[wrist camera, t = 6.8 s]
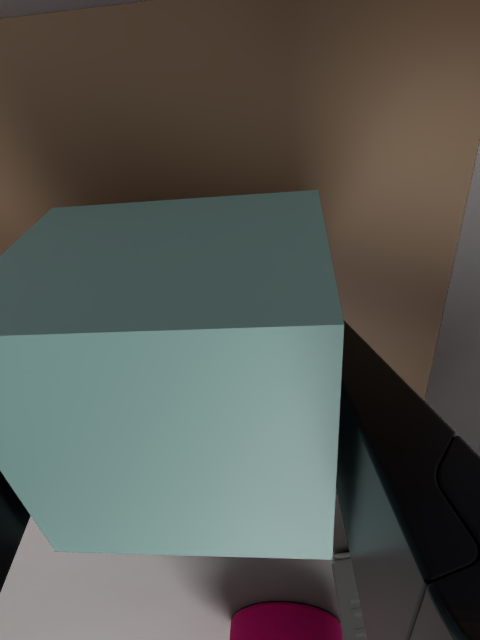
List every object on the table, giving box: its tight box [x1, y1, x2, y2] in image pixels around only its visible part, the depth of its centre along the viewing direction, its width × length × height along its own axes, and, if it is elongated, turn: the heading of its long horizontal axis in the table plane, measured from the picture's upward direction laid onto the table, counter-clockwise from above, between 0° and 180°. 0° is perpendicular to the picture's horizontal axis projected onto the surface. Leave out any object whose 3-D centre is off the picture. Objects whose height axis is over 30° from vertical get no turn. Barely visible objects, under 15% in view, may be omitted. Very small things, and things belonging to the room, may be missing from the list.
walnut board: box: [0, 0, 480, 401], centre depth 11 cm, size 11×11×1 cm
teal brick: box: [0, 190, 344, 560], centre depth 8 cm, size 5×5×4 cm
